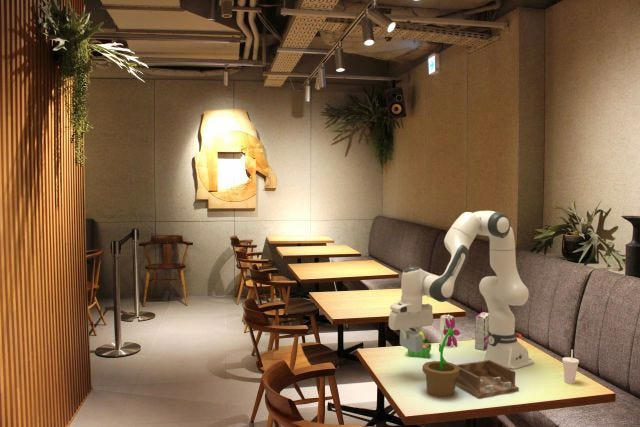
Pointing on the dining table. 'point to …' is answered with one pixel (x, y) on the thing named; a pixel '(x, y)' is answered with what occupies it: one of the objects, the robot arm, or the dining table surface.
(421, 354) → the fruit basket
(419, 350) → the grey box with stripe
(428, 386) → the flowerpot
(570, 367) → the smoothie
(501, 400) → the dining table surface
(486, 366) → the wooden box
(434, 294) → the robot arm
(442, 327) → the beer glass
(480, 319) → the candy bar box
